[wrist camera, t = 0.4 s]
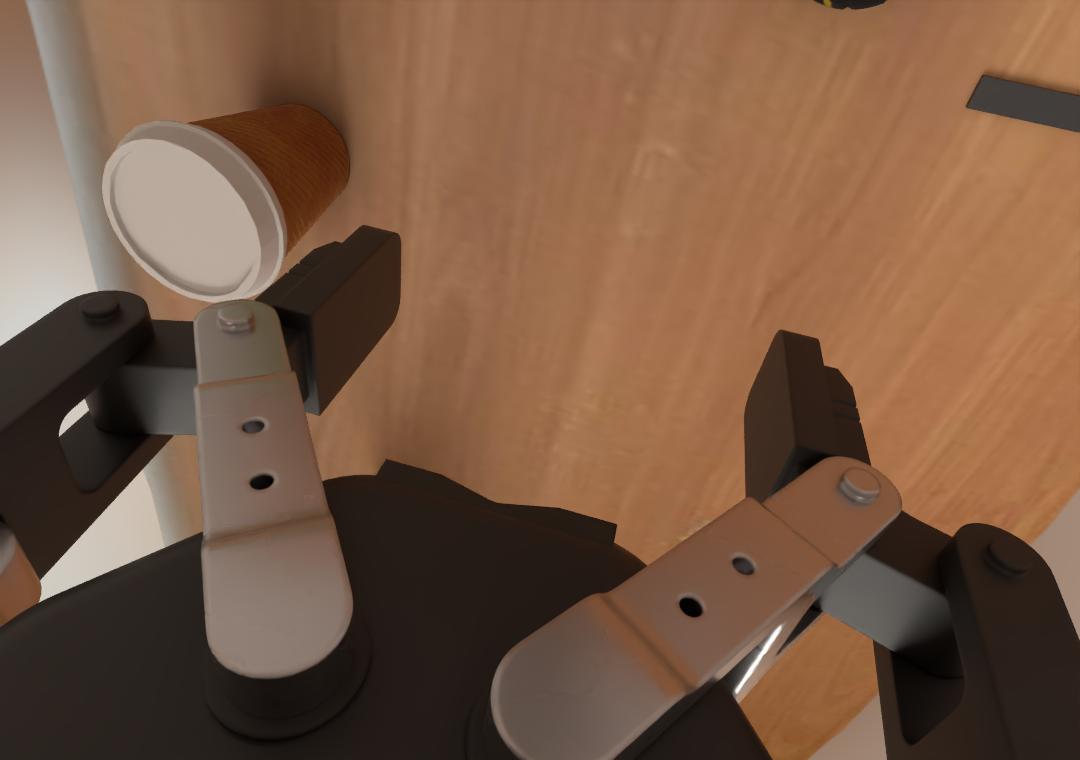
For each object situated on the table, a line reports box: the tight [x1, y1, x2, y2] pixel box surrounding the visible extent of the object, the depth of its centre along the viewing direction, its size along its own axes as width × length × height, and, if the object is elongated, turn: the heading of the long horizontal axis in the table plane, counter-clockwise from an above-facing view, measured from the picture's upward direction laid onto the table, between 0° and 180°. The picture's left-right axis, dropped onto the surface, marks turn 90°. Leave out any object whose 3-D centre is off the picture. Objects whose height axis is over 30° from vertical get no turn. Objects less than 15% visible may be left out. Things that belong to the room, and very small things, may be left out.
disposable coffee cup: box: [102, 104, 349, 302], centre depth 38 cm, size 10×10×12 cm
